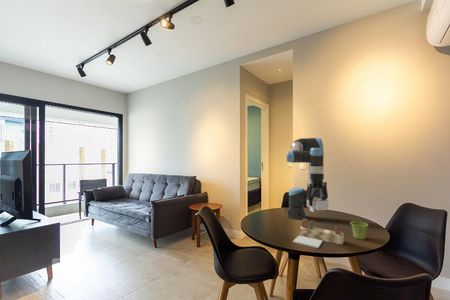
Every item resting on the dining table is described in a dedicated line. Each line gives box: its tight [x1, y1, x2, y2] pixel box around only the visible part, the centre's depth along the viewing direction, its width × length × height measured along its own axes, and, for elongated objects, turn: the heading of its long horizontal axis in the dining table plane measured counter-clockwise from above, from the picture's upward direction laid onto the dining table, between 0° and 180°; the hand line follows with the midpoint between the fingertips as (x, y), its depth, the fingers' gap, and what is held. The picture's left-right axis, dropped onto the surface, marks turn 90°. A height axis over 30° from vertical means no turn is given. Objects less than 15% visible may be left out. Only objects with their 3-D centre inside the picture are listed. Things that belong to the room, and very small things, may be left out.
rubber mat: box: [292, 235, 324, 249], centre depth 129 cm, size 14×11×1 cm
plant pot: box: [350, 220, 369, 240], centre depth 136 cm, size 9×9×9 cm
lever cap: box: [306, 197, 329, 211], centre depth 133 cm, size 9×8×6 cm
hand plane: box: [299, 218, 345, 246], centre depth 135 cm, size 24×6×10 cm, turn 54°
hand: (317, 210), depth 133 cm, fingers closed on lever cap, 8 cm apart
